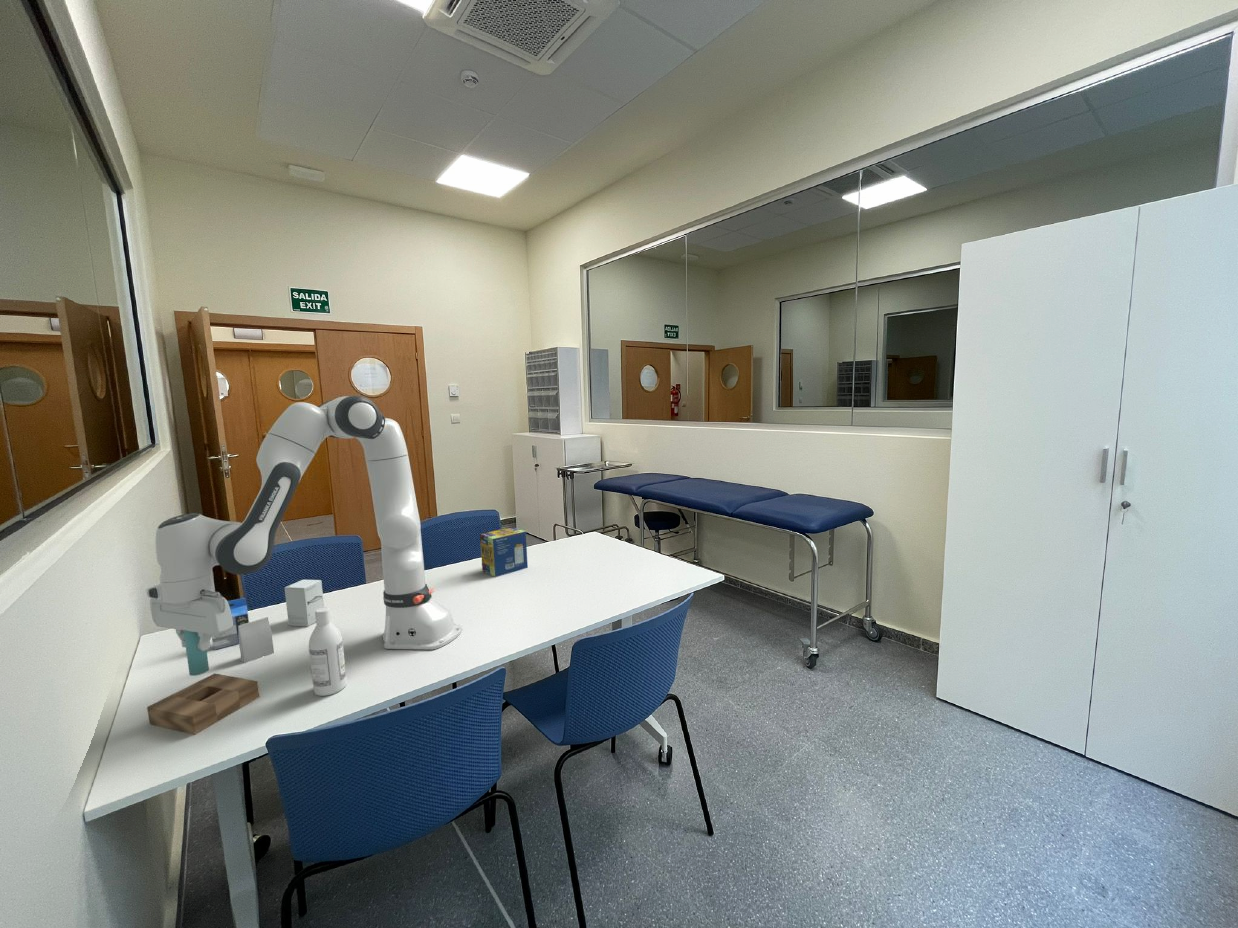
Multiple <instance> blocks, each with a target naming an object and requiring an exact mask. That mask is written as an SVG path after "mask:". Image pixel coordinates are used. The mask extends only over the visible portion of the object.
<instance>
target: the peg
mask: <svg viewBox="0 0 1238 928" xmlns="http://www.w3.org/2000/svg"><path fill="white" fill-rule="evenodd" d="M184 637H185V645H186V648H185V650H186V651H185V652H186V658H187V666H188V674H189V676H200V675H202V674H205V673H206V672H208V671H209V670H210V665H209V658H208V651H207V650H208V649H206V650H204V651H202V650H198V649H197V643H198V642H199V641H200V637H199V636H198V633H196V632H190V631H186V630H184Z"/></svg>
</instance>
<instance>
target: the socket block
mask: <svg viewBox="0 0 1238 928" xmlns="http://www.w3.org/2000/svg"><path fill="white" fill-rule="evenodd" d="M259 690H260V689H259V682H258V680H254V679H248V678H243V677H238V676H237V677H236V676H232V675H226V674H219V673H213V674H210V675H208V676H207V677H204V678H203V679H200V680H199V681H196V682H194V683H193V684H190V685H188V686H186V687H184V688H182V689H181V690H178V691H177V692H174V693H172V694H171V695H168V696H167V697H165V698H163V699H160V700H159V701H157V702H154V703H152V704H151V705H148V706H147V707H146V710H147V715H148V721H149V725H152V726H157V727H160V728H161V727H162V728H165V729H170V730H174V731H178V732H183V733H187V734H190V735H191V734H192V735H197V734H199V733H200V732H202V731H204V730H206V729H208V728H209V727H210V726H212V725H214V724H216V723H218V722H220V720H221V721H222V719H225V718H226V717H228V716H229V715H231V714H233V713H234V712H236V711H238V710H240V709H241V708H243V707H245V706H246V705H248V704H249V703H251V702H253V701H255V700H256V699H257V700H258V698H260V691H259Z"/></svg>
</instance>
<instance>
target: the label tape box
mask: <svg viewBox="0 0 1238 928" xmlns="http://www.w3.org/2000/svg"><path fill="white" fill-rule="evenodd" d="M227 601H228V604H229V607H230V610H231V615H232V619H233V627H232V629H231V630H229V631H227V632H225V633H222V634H220V635H217V636H215V635H212V637H211V640H212V646H213V650H220V649H222V648H226V647H230V646H233V645H234V646H235V645H239V639H238V626H239V625H242V624H246V623H249V622H250V620H249V619H250V618H249V612H248V605H247V602H246V597H242V598H236V599H233V600H227ZM230 605H232V606H230Z"/></svg>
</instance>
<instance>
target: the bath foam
mask: <svg viewBox="0 0 1238 928" xmlns="http://www.w3.org/2000/svg"><path fill="white" fill-rule="evenodd" d="M315 617H316V622H315V624H316V625H315V627H314V629H313V631H312V633H311V635H310V637H309V639H308V640H309V641H308V652H309V653H308V654H309V660H310V661H309V662H310V670H311V678H312V685H313V693H314V694H315V695H317V696H320V697H321V696H322V697H325V696H332V695H335V694H336V693H338V692H340V691H342V690H343V689H344V688H345V687H346V686H347V683H348V682H347V671H346V662H345V654H344V653H345V650H344V644H343V642H344V641H343V638H342V634H341V631H340V630H339V629H338V627H336V626H335V625H334V624H333V623H332V622H331V614H330V608H329V607H328V606H327V607H325V606H324V607H323V608H319V609H317V610H315Z"/></svg>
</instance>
